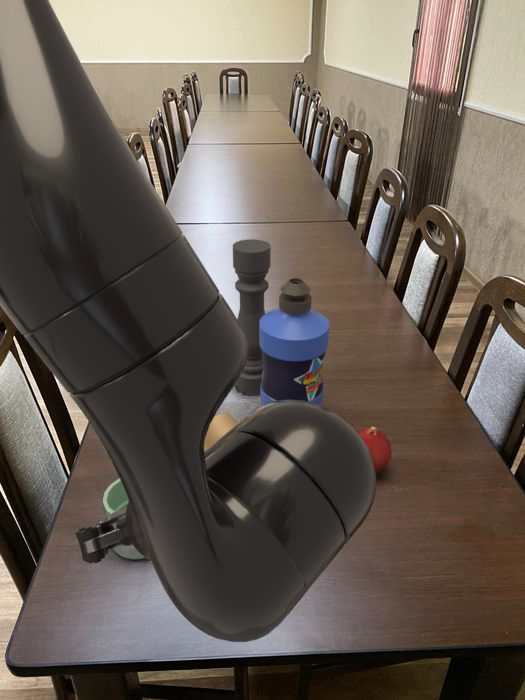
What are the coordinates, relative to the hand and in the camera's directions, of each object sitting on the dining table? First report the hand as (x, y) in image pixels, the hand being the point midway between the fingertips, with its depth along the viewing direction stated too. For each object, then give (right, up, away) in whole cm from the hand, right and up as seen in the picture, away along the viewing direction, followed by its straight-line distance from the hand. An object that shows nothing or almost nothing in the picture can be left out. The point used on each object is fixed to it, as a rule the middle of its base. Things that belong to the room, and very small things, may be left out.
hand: (150, 515), depth 53 cm
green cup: (-4, -6, +11) cm, 13 cm away
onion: (+25, -1, +21) cm, 33 cm away
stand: (+4, -1, +21) cm, 21 cm away
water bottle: (+15, +4, +28) cm, 32 cm away
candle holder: (+9, +10, +39) cm, 42 cm away
